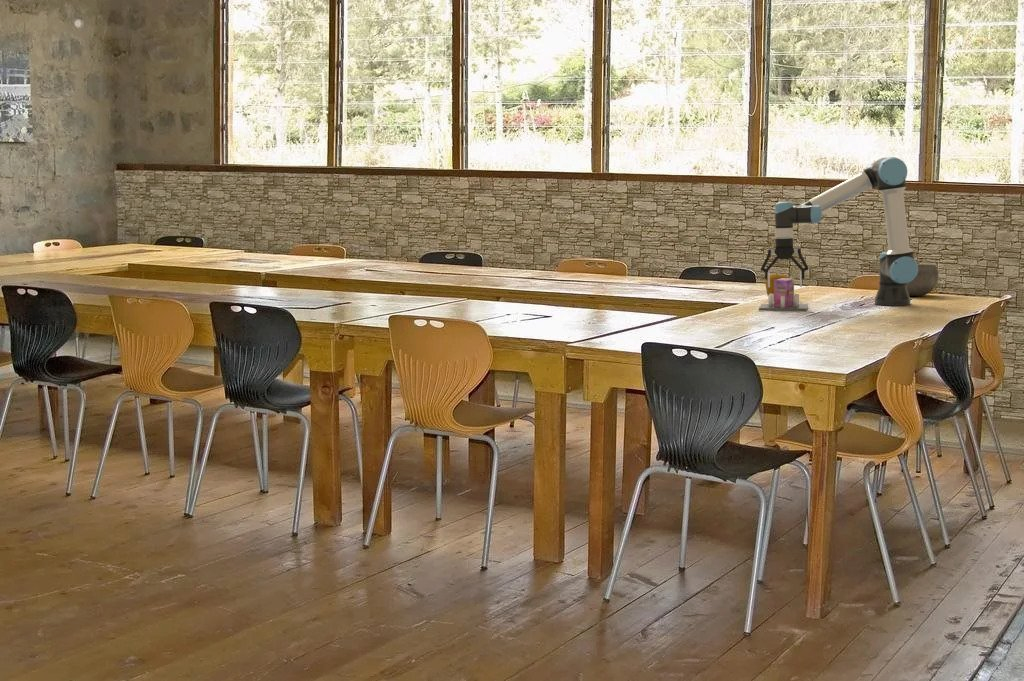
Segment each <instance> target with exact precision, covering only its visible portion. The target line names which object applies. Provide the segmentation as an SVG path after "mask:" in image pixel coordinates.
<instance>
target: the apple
mask: <svg viewBox="0 0 1024 681" xmlns="http://www.w3.org/2000/svg"><path fill="white" fill-rule="evenodd" d="M781 278H789V276H788V275H787V274H778V273H777V272H776V274H770V287H768V280H766V279H765V281H764V282H765V289H766V290H765V291H766V294H767V297H768V296H769V295H770V294H774V280H777V279H781Z"/></svg>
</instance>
